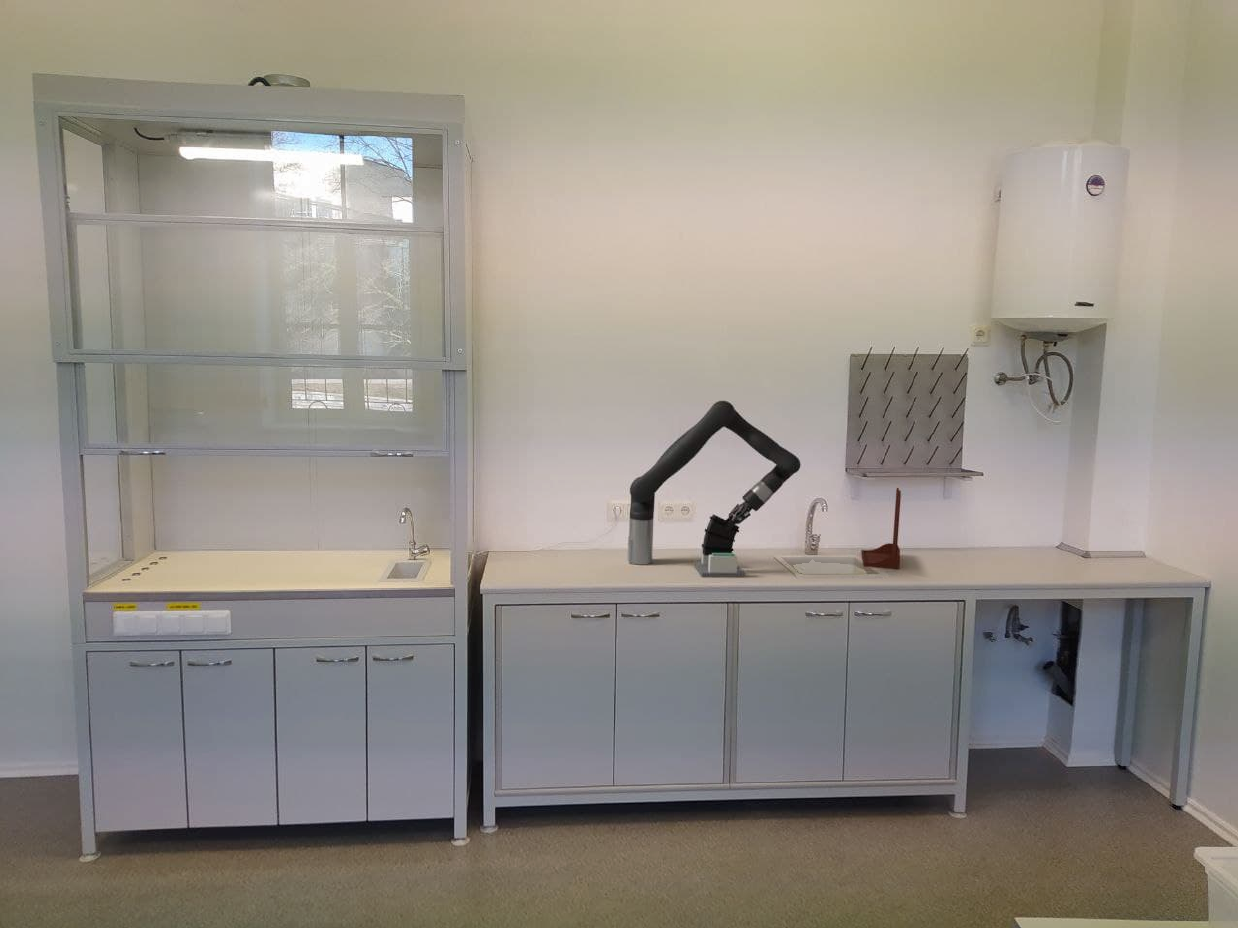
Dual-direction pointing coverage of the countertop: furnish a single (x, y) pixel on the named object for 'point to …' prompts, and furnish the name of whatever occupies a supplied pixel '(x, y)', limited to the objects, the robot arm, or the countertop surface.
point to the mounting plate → (706, 574)
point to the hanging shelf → (886, 547)
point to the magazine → (718, 537)
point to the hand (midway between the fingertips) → (724, 527)
